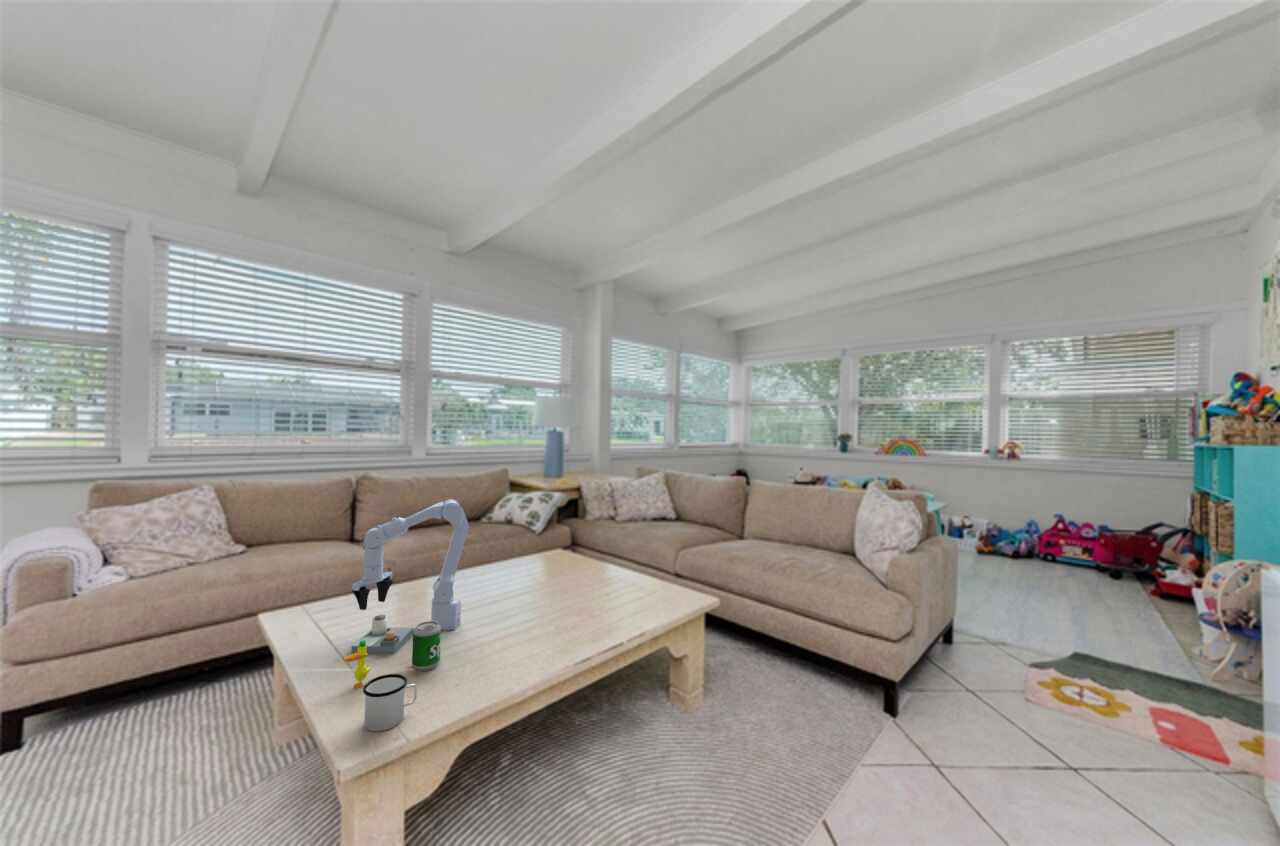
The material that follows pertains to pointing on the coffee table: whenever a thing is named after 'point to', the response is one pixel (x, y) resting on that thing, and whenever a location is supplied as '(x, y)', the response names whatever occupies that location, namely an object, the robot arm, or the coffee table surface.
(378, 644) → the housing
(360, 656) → the toy figure
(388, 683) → the mug
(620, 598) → the coffee table surface
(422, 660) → the soda can
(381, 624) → the cylinder
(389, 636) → the plunger
